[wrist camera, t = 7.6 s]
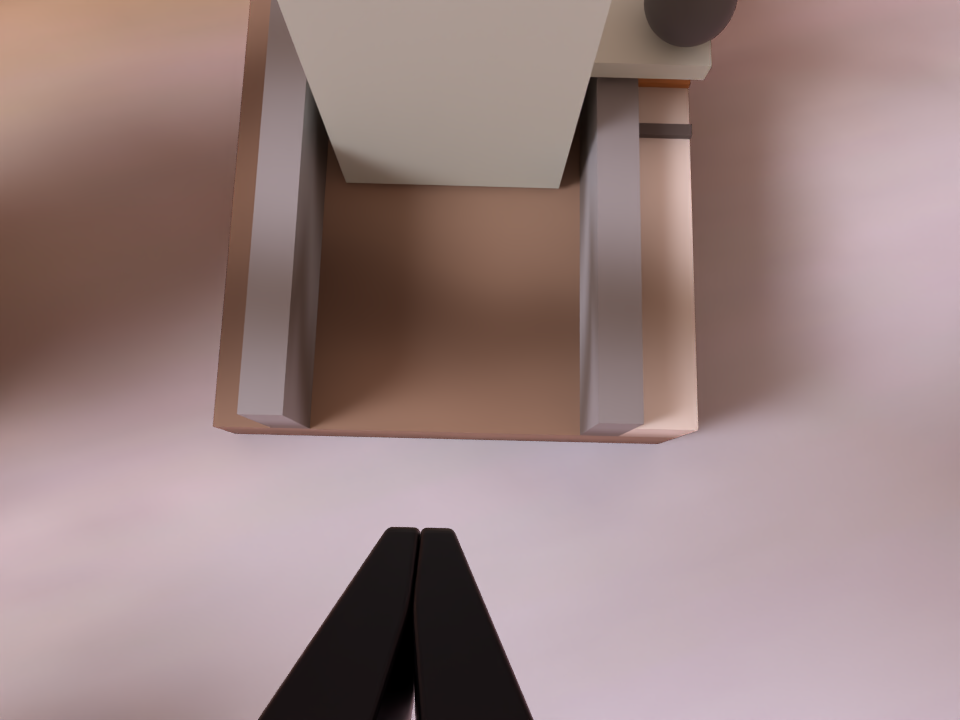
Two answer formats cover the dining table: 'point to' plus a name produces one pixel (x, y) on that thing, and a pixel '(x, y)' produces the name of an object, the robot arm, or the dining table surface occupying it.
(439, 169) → the carriage
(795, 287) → the dining table surface
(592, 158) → the stand
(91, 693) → the dining table surface
